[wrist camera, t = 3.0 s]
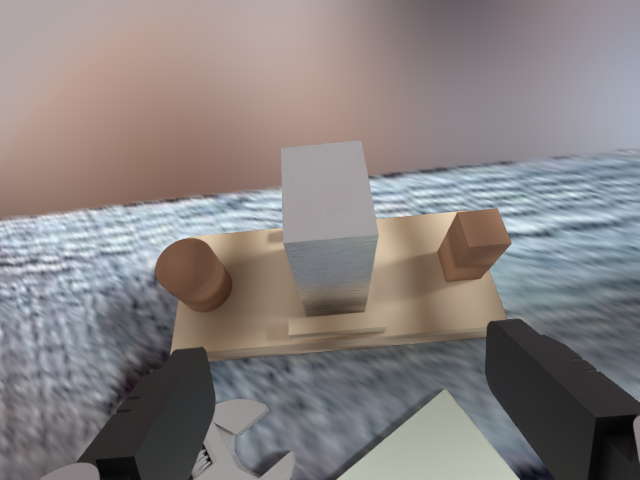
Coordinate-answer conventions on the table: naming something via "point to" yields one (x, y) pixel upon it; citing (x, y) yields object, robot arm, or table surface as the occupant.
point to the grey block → (329, 225)
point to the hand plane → (344, 328)
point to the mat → (433, 449)
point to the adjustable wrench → (225, 468)
